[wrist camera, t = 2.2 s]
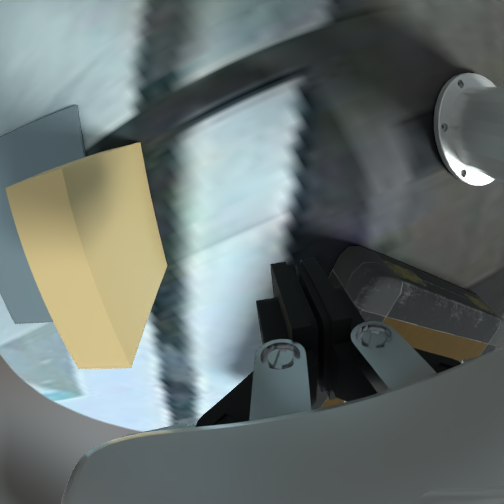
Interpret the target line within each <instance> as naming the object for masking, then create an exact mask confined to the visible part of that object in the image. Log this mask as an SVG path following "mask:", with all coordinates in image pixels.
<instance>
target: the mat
mask: <svg viewBox="0 0 504 504" xmlns="http://www.w3.org/2000/svg"><path fill="white" fill-rule="evenodd" d="M84 157H86V154H85V149H84V143H83V138H82V132H81V126H80V120H79V113H78V106H77V105H75V106H72V107H69V108H66V109H64V110H61V111H58V112H56V113H53V114H51V115H48V116H46V117H44V118H41V119H39V120H36V121H34V122H32V123H30V124H27V125H25V126H23V127H21V128H19V129H16V130H14V131H12V132H10V133H8V134H6V135H4V136H2V137H0V293H1V296H2V298H3V300H4V302H5V304H6V306H7V309H8V311H9V313H10V315H11V317H12V319H13V321H14V323H15V324H23V323H43V322H53V320H52V318H51V316H50V313H49V311H48V309H47V307H46V305H45V303H44V300H43V298H42V296H41V293H40V291H39V289H38V286H37V284H36V281H35V279H34V276H33V274H32V271H31V269H30V266H29V263H28V261H27V258H26V255H25V253H24V250H23V247H22V244H21V241H20V238H19V235H18V232H17V228H16V225H15V222H14V219H13V215H12V212H11V208H10V204H9V201H8V197H7V193H6V189H5V188H7V187H9V186H11V185H14V184H16V183H18V182H21V181H23V180H25V179H28V178H30V177H33V176H35V175H38V174H40V173H43V172H45V171H48V170H51V169H53V168H56V167H59V166H61V165H64V164H67V163H70V162H72V161H75V160H78V159H81V158H84Z"/></svg>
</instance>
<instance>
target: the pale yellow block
mask: <svg viewBox="0 0 504 504" xmlns="http://www.w3.org/2000/svg"><path fill="white" fill-rule="evenodd" d="M5 189H6V193H7V197H8V201H9V204H10V208H11V212H12V215H13V219H14V222H15V225H16V228H17V232H18V235H19V238H20V241H21V244H22V247H23V250H24V253H25V255H26V258H27V261H28V263H29V266H30V269H31V271H32V274H33V276H34V279H35V281H36V284H37V286H38V289H39V291H40V293H41V296H42V298H43V300H44V303H45V305H46V307H47V309H48V311H49V313H50V316H51V318H52V320H53V322H54V324H55V326H56V328H57V330H58V332H59V334H60V336H61V338H62V340H63V342H64V344H65V346H66V347H67V349H68V351H69V353H70V355H71V357H72V358H73V360H74V362H75V364H76V365H77V367H78V369H112V368H131V367H132V364H133V361H134V358H135V355H136V352H137V349H138V346H139V343H140V340H141V337H142V334H143V331H144V328H145V325H146V322H147V319H148V316H149V314H150V311H151V308H152V305H153V302H154V300H155V297H156V294H157V291H158V289H159V286H160V283H161V281H162V278H163V275H164V273H165V270H166V268H167V263H166V259H165V255H164V251H163V247H162V243H161V239H160V235H159V231H158V227H157V222H156V218H155V214H154V209H153V205H152V200H151V195H150V191H149V186H148V181H147V176H146V171H145V166H144V160H143V155H142V150H141V144H140V142H139V143H134V144H130V145H126V146H122V147H118V148H114V149H110V150H107V151H103V152H99V153H96V154H93V155H90V156H87V157H84V158H81V159H78V160H75V161H72V162H70V163H67V164H64V165H61V166H59V167H56V168H53V169H51V170H48V171H45V172H43V173H40V174H38V175H35V176H33V177H30V178H28V179H25V180H23V181H21V182H18V183H16V184H14V185H11V186H9V187H7V188H5Z"/></svg>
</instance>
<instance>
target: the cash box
mask: <svg viewBox="0 0 504 504" xmlns="http://www.w3.org/2000/svg"><path fill="white" fill-rule="evenodd" d="M328 279H329V280H330V282H331V284H332V285H333V287H334V288H335V287H340V286H341V287H343V288H344V290H345V291H346V293H347V294H348V296H349V297H350V299H351V300H352V302H353V304H354V305H355V307H356V308H357V310H358V311H359V313H360V314H361V316H362V318H363V319H364V321H365V322H368V321H378V322H383V323H385V324H388V325H390V326H391V327H392V328H394V329H395V330H396V331H397V332H398V333H399V334H400V335H401V336H402V337H403V338H404V339H405V340H406V341H407V342H408V344H409V345H410V346H411V347H412V348H416V349H419V350H423V351H427V352H430V353H434V354H438V355H441V356H445V357H449V358H452V359H455V360H457V361H459V362H460V363H461V362H462V359H468V358H473V357H478V356H481V355H484V354H486V353H488V352H490V351H493V350H494V349H495V347H496V346H497V344H498V343H499V341H500V340H501V338H502V337H503V335H504V319H503V318H502V317H501V316H500V315H498V314H497V313H496V312H495V311H494V310H493V309H492V308H491V307H490V306H489V305H488V304H487V303H486V302H485V301H484V300H483V299H482V298H480V297H479V296H477V295H475V294H473V293H471V292H469V291H466V290H464V289H462V288H460V287H457V286H455V285H453V284H451V283H448V282H446V281H444V280H441V279H439V278H437V277H434V276H432V275H430V274H427V273H425V272H423V271H420V270H418V269H416V268H413V267H411V266H408V265H406V264H404V263H401V262H399V261H396V260H394V259H391V258H389V257H387V256H384V255H382V254H379V253H377V252H374V251H371V250H369V249H366V248H364V247H361V246H348V247H347V248H346V249H345V250H344V251H343V252H342V253H341V254H340V255H339V257H338V259H337V261H336V263H335V265H334V267H333V269H332V271H331V273H330V275H329V277H328ZM341 403H344V400H341V399H339V398H336V399H332V400H329V397H328V394H327V392H321V390H320V387H319V384H318V393H317V402H316V403H315V404H314V405H313V406H312V408H311V410H315V409H319V408H324V407H328V406H332V405H337V404H341Z"/></svg>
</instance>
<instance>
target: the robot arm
mask: <svg viewBox="0 0 504 504" xmlns="http://www.w3.org/2000/svg"><path fill="white" fill-rule="evenodd" d="M434 133H435V140H436V144H437V148H438V151H439V154H440V156H441V158H442V161H443V162H444V164H445V166H446V167H447V169H448V170H449V171H450V172H451V173H452V174H453V176H454V177H456V178H457V179H459V180H460V181H462V182H464V183H467V184H469V185H473V186H483V185H486V184H489V183H490V182H492V181H494V180H495V179H496V180H498V181H501V182H503V183H504V88H498V87H496V86H495V85H494V84H493V83H492V82H491V81H490V80H488V79H487V78H485V77H484V76H482V75H479V74H476V73H462V74H458V75H456V76H453V77H452V78H451V79H450V80H448V81H447V82H446V84H445V85H444V86H443V87H442V89H441V91H440V93H439V95H438V98H437V102H436V105H435V112H434ZM295 271H296V274H295ZM295 271H294V269H293V267H292V265H286V262H281V263H275V264H271V275H272V284H273V293H274V298H271V299H264V300H258V301H256V304H257V311H258V318H259V324H260V331H261V337H262V343H263V345H262V346H261V347H260V348H259V349H258V350H257V351H256V354H255V359H254V371H253V372H252V373H251V374H250V375H248V376H247V377H246V378H245V379H244V380H243V381H242V382H241V383H240V384H238V385H237V386H236V387H235V388H234V389H233V390H232V391H231V392H229V393H228V394H227V395H226V396H225V397H224V398H223V399H221V400H220V401H219V402H218V403H217V404H216V405H214V406H213V407H212V408H211V409H210V410H209V411H207V412H206V413H205V414H204V415H203V416H202V417H201V418H200V419H199V420H198V422H197V423H196V424H192V425H187V423H186V422H185V423H181V424H177V425H173V426H169V427H164V428H160V429H155V430H150V431H145V432H140V433H136V434H130V435H126V436H123V437H121V438H118V439H114V440H111V441H108V442H105V443H103V444H101V445H98V446H96V447H94V448H92V449H91V450H89V451H88V452H87V453H85V454H84V455H83V456H82V457H81V458H80V460H79V461H78V463H77V464H76V466H75V468H74V470H73V471H72V474H71V476H70V478H69V481H68V483H67V486H66V489H65V492H64V495H63V498H62V502H61V504H504V346H502V347H499V348H497V349H495V350H493V351H490V352H488V353H486V354H484V355H481V356H478V357H473V358H468V359H462V362H461V363H460V362H459V361H457V360H455V359H452V358H449V357H445V356H441V355H438V354H434V353H430V352H427V351H423V350H419V349H416V348H412V347H411V346H410V345H409V344H408V342H407V341H406V340H405V339H404V338H403V337H402V336H401V335H400V334H399V333H398V332H397V331H396V330H395V329H394V328H392V327H391V326H390V325H388V324H385V323H383V322H378V321H368V322H365V321H364V319H363V318H362V316H361V314H360V313H359V311H358V310H357V308H356V307H355V305H354V304H353V302H352V300H351V299H350V297H349V296H348V294H347V293H346V291H345V290H344V288H343V287H341V286H340V287H335V288H334V287H333V285H332V284H331V282H330V280H329V279H328V277H327V276H326V274H325V272H324V271H323V269H322V267H321V266H320V264H319V263H318V261H317V260H316V258H315V257H313V258H307V259H301V260H300V263H299V264H295ZM318 384H319V387H320V390H321V392H327V394H328V397H329V400H332V399H336V398H339V399H341V400H344V403H341V404H337V405H332V406H328V407H324V408H319V409H315V410H311V408H312V406H313V405H314V404H315V403H316V402H317V393H318Z"/></svg>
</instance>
